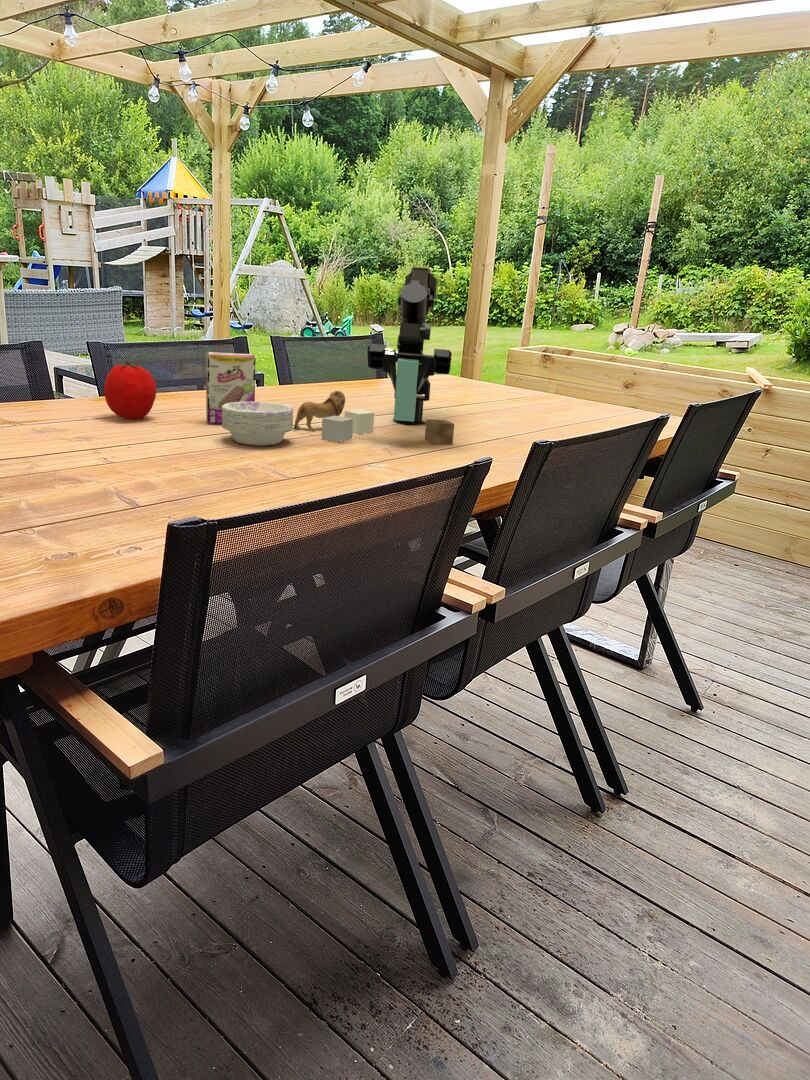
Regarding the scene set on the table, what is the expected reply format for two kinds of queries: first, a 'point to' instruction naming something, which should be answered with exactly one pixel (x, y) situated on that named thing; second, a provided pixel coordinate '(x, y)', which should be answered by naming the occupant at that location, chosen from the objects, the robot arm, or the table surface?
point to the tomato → (130, 391)
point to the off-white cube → (361, 420)
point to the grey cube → (337, 428)
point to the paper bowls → (257, 422)
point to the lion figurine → (321, 409)
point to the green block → (406, 389)
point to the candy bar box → (228, 382)
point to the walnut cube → (439, 432)
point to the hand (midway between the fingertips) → (406, 389)
